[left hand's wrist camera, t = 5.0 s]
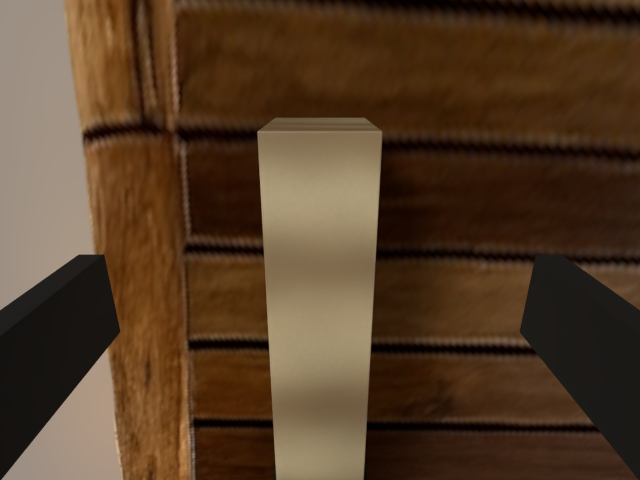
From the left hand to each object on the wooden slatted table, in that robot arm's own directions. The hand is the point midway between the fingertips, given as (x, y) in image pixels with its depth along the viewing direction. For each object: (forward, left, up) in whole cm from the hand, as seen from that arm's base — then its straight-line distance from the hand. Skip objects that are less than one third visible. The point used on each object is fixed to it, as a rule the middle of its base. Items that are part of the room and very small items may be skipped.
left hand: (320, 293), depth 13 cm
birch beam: (0, +13, -17) cm, 21 cm away
